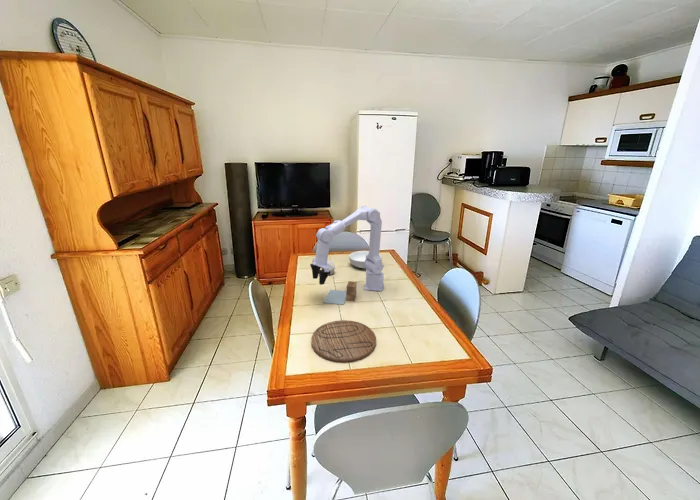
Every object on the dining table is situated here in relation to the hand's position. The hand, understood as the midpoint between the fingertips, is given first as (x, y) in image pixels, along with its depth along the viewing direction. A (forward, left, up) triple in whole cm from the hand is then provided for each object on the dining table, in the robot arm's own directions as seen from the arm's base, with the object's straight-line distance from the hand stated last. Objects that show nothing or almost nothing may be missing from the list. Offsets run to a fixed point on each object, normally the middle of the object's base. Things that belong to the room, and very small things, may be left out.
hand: (318, 281), depth 144 cm
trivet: (-18, +30, -11) cm, 37 cm away
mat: (-8, -5, -11) cm, 14 cm away
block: (-15, -5, -11) cm, 19 cm away
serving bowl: (-16, -51, -11) cm, 55 cm away
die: (+4, -34, -11) cm, 36 cm away
